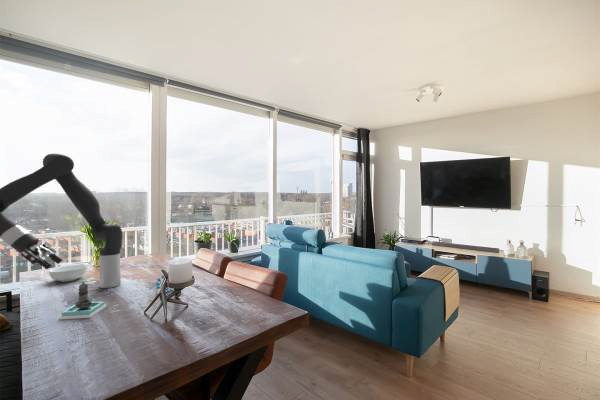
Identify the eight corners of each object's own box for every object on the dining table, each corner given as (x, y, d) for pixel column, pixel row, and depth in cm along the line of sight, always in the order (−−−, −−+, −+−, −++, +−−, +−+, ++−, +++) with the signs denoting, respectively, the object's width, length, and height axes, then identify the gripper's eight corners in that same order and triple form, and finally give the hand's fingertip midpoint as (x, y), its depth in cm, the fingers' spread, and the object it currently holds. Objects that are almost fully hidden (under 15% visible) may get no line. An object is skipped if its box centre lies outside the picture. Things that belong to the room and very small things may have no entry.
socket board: (78, 307, 124) (78, 302, 124) (106, 306, 125) (106, 300, 125) (59, 319, 112) (59, 313, 112) (90, 317, 114) (90, 311, 114)
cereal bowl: (81, 274, 177) (81, 262, 177) (91, 278, 167) (91, 266, 167) (45, 280, 163) (45, 268, 163) (54, 286, 153) (54, 273, 153)
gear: (154, 291, 139) (157, 273, 146) (153, 297, 143) (156, 279, 150) (178, 291, 144) (180, 274, 150) (177, 297, 147) (179, 279, 154)
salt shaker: (80, 307, 121) (80, 279, 121) (95, 307, 122) (95, 279, 122) (71, 313, 115) (70, 284, 115) (86, 312, 116) (86, 283, 116)
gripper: (16, 234, 109) (53, 262, 113) (38, 229, 123) (70, 254, 126) (-1, 249, 108) (38, 276, 111) (23, 242, 121) (56, 267, 125)
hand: (55, 264), depth 119 cm, fingers open, 8 cm apart
